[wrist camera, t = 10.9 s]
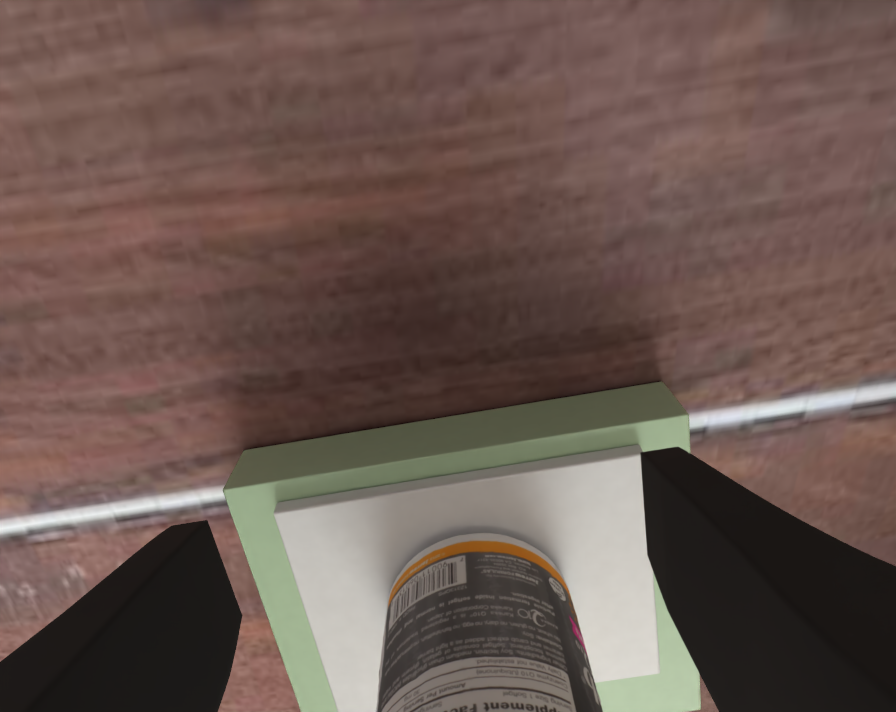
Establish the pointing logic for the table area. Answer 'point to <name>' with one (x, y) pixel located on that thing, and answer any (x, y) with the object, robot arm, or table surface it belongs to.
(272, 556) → the scale
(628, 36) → the table surface
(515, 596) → the pill bottle
